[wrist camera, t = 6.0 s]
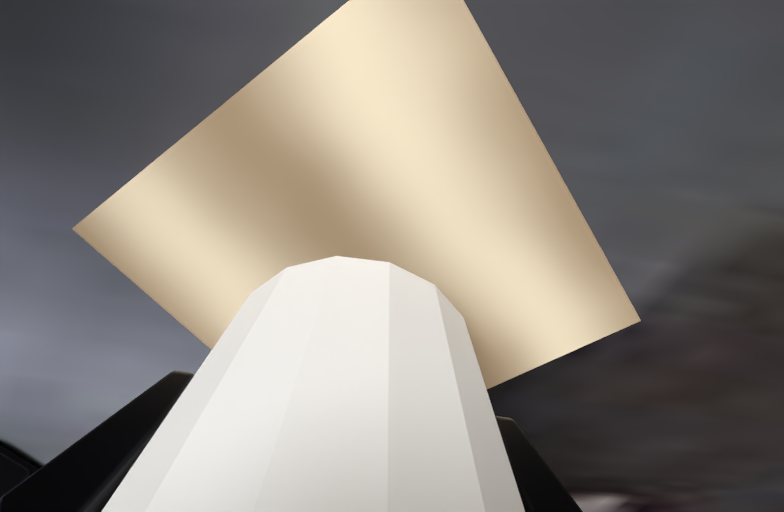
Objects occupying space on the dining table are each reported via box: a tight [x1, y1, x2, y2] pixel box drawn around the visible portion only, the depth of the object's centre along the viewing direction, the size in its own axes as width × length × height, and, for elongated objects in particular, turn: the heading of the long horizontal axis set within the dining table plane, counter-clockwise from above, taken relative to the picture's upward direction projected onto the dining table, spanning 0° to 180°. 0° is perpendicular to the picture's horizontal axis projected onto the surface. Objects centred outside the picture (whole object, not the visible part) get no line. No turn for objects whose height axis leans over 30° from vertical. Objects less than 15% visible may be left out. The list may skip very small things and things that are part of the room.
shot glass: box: [101, 256, 525, 512], centre depth 8 cm, size 7×7×7 cm
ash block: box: [72, 0, 641, 390], centre depth 16 cm, size 12×12×4 cm
